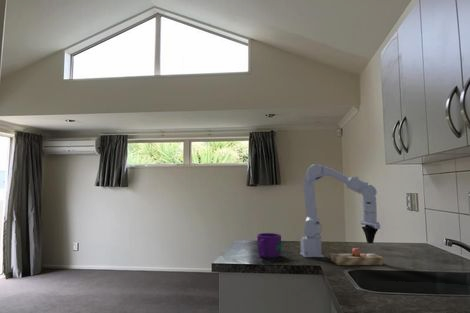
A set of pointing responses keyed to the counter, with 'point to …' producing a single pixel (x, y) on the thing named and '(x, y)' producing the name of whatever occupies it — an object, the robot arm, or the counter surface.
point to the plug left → (342, 255)
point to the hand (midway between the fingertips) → (370, 243)
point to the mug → (269, 245)
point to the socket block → (357, 259)
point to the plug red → (356, 252)
